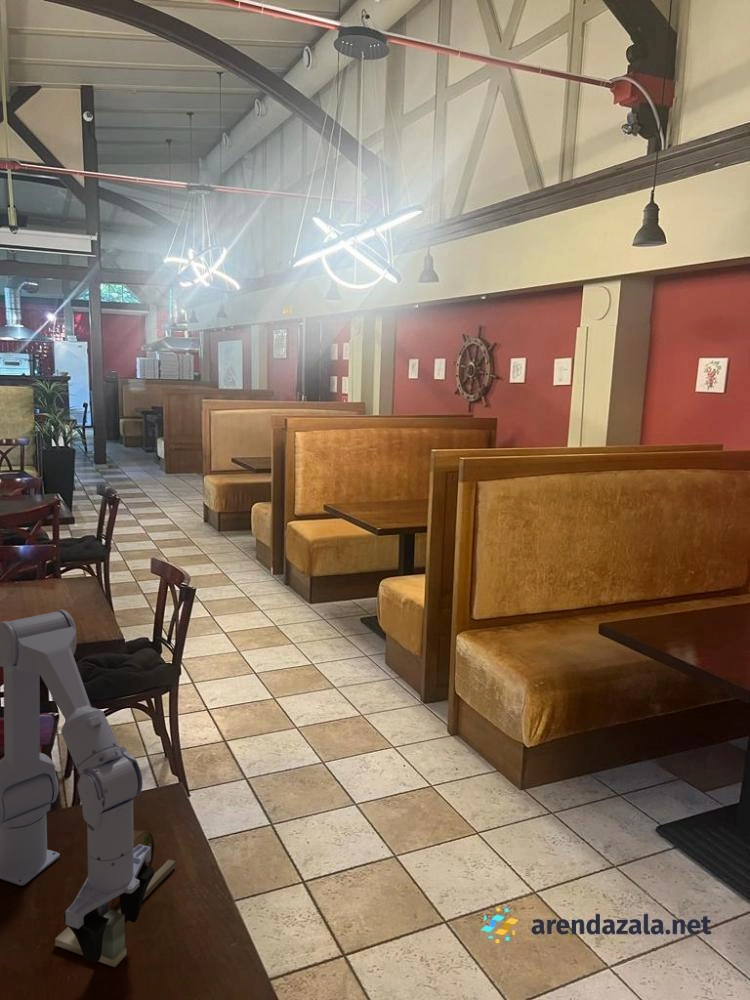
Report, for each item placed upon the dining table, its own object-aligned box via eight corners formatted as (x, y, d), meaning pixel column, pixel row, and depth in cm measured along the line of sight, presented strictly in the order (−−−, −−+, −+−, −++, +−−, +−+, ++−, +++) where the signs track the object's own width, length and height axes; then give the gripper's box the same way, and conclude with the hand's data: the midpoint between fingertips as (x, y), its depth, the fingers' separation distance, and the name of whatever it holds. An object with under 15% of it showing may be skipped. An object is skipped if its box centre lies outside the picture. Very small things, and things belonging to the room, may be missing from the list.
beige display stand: (55, 945, 99) (54, 906, 98) (146, 858, 118) (147, 824, 117) (114, 967, 96) (114, 927, 95) (199, 874, 115) (199, 840, 114)
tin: (97, 935, 102) (97, 882, 101) (78, 930, 103) (77, 877, 101) (156, 868, 116) (156, 821, 115) (139, 864, 117) (139, 817, 116)
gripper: (97, 890, 87) (98, 988, 89) (169, 824, 101) (168, 910, 103) (51, 874, 89) (53, 971, 92) (127, 812, 103) (127, 897, 105)
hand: (111, 938), depth 97 cm, fingers open, 7 cm apart
